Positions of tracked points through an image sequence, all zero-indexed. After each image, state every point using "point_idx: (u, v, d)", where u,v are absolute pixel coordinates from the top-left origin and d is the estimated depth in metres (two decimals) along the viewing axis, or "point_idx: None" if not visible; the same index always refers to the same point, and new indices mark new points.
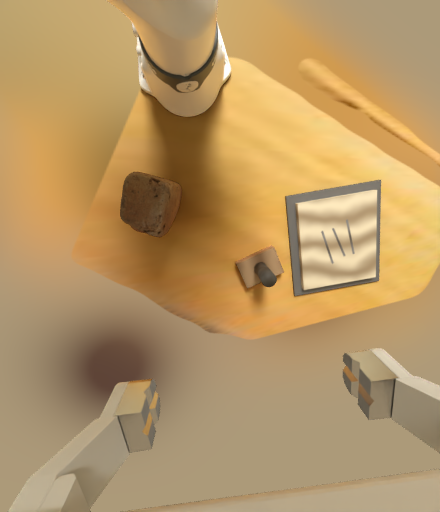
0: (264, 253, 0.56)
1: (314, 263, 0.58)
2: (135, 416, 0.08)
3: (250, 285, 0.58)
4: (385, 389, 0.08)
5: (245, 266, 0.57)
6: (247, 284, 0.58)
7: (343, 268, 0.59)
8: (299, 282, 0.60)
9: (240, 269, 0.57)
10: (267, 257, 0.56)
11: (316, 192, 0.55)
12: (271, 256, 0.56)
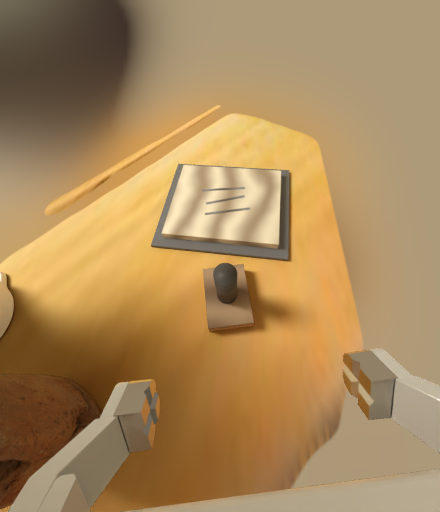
0: (206, 283, 0.38)
1: (243, 227, 0.44)
2: (135, 416, 0.08)
3: (249, 316, 0.35)
4: (385, 389, 0.08)
5: (216, 315, 0.36)
6: (247, 320, 0.35)
7: (261, 198, 0.47)
8: (268, 250, 0.43)
9: (218, 324, 0.35)
10: (213, 280, 0.39)
11: (162, 215, 0.48)
12: None
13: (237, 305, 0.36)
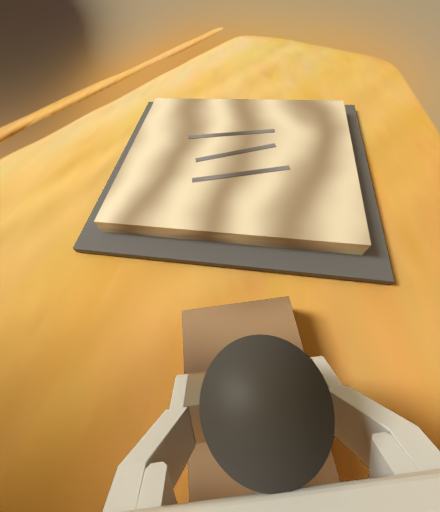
0: (190, 354, 0.14)
1: (279, 205, 0.19)
2: None
3: None
4: None
5: (218, 475, 0.11)
6: None
7: (311, 148, 0.22)
8: (340, 258, 0.18)
9: None
10: (210, 346, 0.14)
11: (107, 187, 0.24)
12: (212, 329, 0.14)
13: None
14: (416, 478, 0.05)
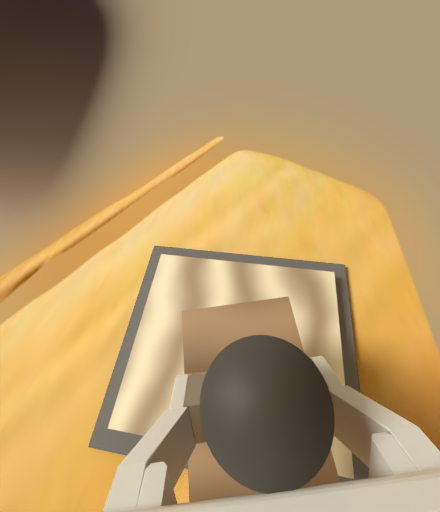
0: (190, 355, 0.14)
1: None
2: None
3: None
4: None
5: (218, 475, 0.11)
6: None
7: (303, 339, 0.25)
8: None
9: None
10: (210, 346, 0.14)
11: (117, 365, 0.26)
12: (212, 329, 0.14)
13: None
14: (416, 478, 0.05)
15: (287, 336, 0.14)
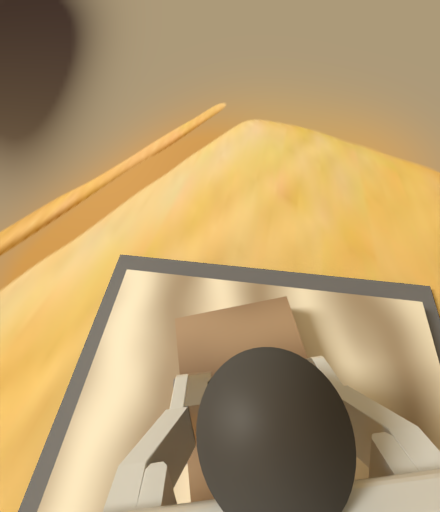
0: (186, 365, 0.13)
1: None
2: None
3: None
4: None
5: None
6: None
7: None
8: None
9: None
10: (207, 355, 0.13)
11: (35, 481, 0.14)
12: (208, 336, 0.13)
13: None
14: (416, 478, 0.05)
15: (288, 338, 0.13)
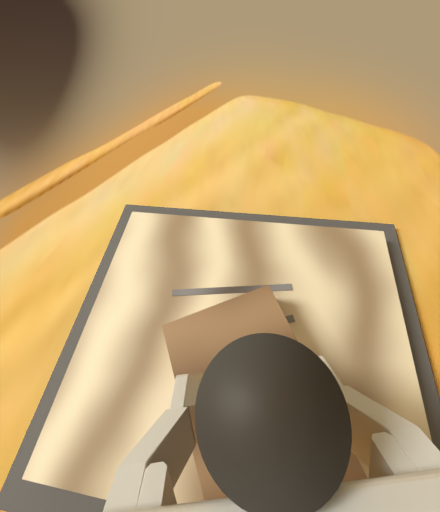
0: (180, 370, 0.13)
1: None
2: None
3: None
4: None
5: None
6: None
7: (346, 328, 0.16)
8: None
9: None
10: (200, 355, 0.13)
11: (57, 370, 0.17)
12: (198, 337, 0.13)
13: None
14: (416, 478, 0.05)
15: (276, 325, 0.13)
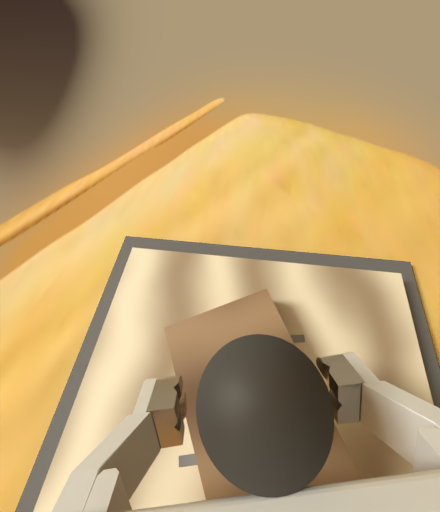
0: (181, 370, 0.13)
1: None
2: (168, 411, 0.08)
3: (340, 461, 0.11)
4: (352, 393, 0.08)
5: (234, 485, 0.11)
6: (338, 479, 0.11)
7: None
8: None
9: None
10: (201, 356, 0.13)
11: (52, 429, 0.16)
12: (198, 338, 0.14)
13: None
14: (416, 478, 0.05)
15: (273, 327, 0.14)
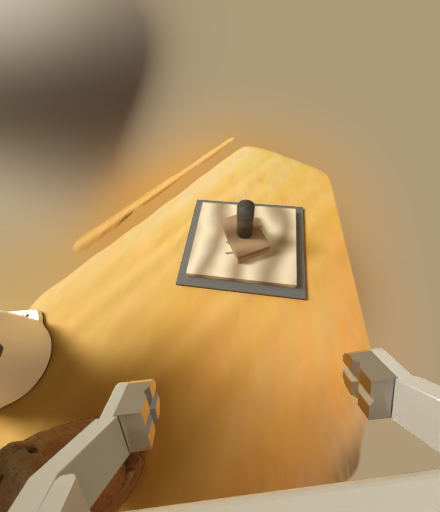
0: (226, 228, 0.49)
1: (262, 267, 0.47)
2: (135, 416, 0.08)
3: (265, 243, 0.47)
4: (385, 389, 0.08)
5: (241, 247, 0.46)
6: (265, 245, 0.46)
7: (277, 237, 0.50)
8: (286, 289, 0.46)
9: (244, 253, 0.46)
10: (231, 225, 0.49)
11: (185, 253, 0.51)
12: (230, 222, 0.50)
13: (254, 237, 0.47)
14: (416, 478, 0.05)
15: None
